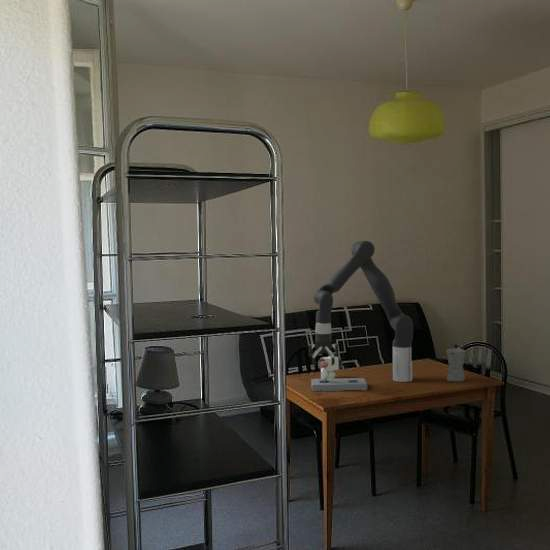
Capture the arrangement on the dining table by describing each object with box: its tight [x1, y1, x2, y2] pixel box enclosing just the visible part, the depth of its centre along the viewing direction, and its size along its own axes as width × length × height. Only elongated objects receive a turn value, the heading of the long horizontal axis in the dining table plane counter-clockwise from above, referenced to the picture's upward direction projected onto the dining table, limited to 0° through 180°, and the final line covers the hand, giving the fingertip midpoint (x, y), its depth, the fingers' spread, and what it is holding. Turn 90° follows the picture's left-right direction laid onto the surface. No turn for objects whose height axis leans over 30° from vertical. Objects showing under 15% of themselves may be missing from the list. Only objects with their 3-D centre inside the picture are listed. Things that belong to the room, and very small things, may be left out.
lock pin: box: [320, 362, 328, 383], centre depth 302 cm, size 4×4×12 cm
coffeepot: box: [446, 344, 466, 382], centre depth 312 cm, size 15×9×18 cm, turn 147°
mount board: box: [310, 377, 368, 392], centre depth 302 cm, size 26×12×3 cm, turn 89°
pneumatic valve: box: [317, 354, 343, 379], centre depth 320 cm, size 6×12×12 cm, turn 108°
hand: (323, 365), depth 301 cm, fingers open, 8 cm apart
